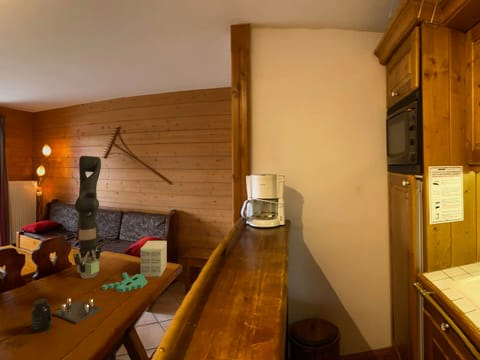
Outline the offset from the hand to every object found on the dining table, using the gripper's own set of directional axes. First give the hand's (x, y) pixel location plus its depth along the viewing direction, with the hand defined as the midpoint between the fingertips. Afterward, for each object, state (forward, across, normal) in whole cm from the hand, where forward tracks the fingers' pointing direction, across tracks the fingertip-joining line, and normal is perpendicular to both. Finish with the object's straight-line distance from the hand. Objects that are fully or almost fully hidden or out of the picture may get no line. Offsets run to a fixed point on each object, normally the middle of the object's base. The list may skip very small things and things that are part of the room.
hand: (88, 270), depth 136 cm
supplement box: (+16, -44, +3) cm, 47 cm away
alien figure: (+17, -24, +3) cm, 29 cm away
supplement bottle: (+16, +24, +4) cm, 29 cm away
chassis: (+16, +10, +6) cm, 20 cm away
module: (+1, 0, 0) cm, 1 cm away
